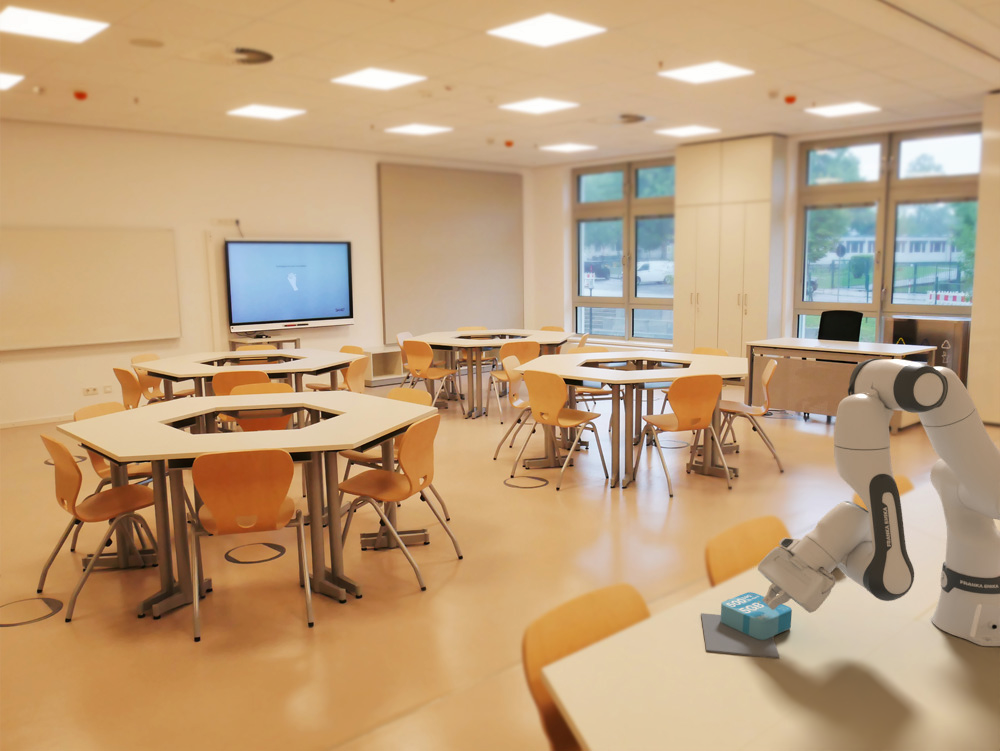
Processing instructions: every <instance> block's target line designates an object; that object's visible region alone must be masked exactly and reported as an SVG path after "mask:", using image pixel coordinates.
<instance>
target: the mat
mask: <svg viewBox="0 0 1000 751" xmlns="http://www.w3.org/2000/svg"><path fill="white" fill-rule="evenodd" d="M700 617H701V623H702V629H703V638H704V643H705V651H706V652H708V653H709V652H710V653H720V654H729V655H730V654H731V655H738V656H749V657H761V658H770V659H781V658H780V655H779V652H778V651H779V650H778V649H777V645H776V641H775V639H774V636H772V637H770V638H768V639H766V640H758V639H755V638H753V637H751V636H749V635H747V634H745V633H742V632H740V631H738V630H736V629H734V628H731V627H729V626H727V625H725V624H723V623H722V622H721V614H712V613H704V612H701V614H700Z"/></svg>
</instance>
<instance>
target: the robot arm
mask: <svg viewBox="0 0 1000 751" xmlns="http://www.w3.org/2000/svg"><path fill="white" fill-rule="evenodd" d="M848 383H849V384H848V388H847V396H845V397H844V398H843V399H841V400H840V402H839V404H838V405H837V411H836V416H835V422H834V434H833V455H834V456H833V458H834V463H835V467H836V470H837V473H838V475H839V477H840V478H841V479H842V481H844V482H845V483H846V484H847V485H848V486H849V487H850V488H852V490H853V491H854V492H855V494H856V495H857V496H859V498H860V499H861V500H862V503H863V504H864V506H865V507H866V508H864V507H862V506H861V505H859V504H858V503H855V502H853V501H848V500H847V501H846V500H845V501H842V502H839V504H836V505H835V506H834V507H833V508H831V509H830V510H829V511H828V512H827V513H826V514H824V516H823V517H821V519H820V520H819V521H818V522H817V524H816V526H815V527H814V528H813V530H812V531H810V532H808V533H806V534H805V535H804V536H803V537H802V538H801V539H800V538H790V537H782V538H781V540H779V541H778V545H779V546H776V547H774V548H773V549H771V550H770V551H769V552H768V554H766V555H765V556H764V557H763V559H762V560H760V562H759V563H758V566H757V571H758V572H759V573H760V574H761V575H762V576H763V577H764V578H765V579H767V580H768V581H769V582H770V583H771V584H770V585H769V587H768V591H767V593H766V595H765V596H763V597H764V598H763V599H762V601H763V602H764V603H765V604H766V605H767V606H768V607H770V608H771V609H772V610H774V609H775V608H776V607H777V606H778V605H781V604H783V605H784V604H785V603H788V602H789V601H790V600H791V599H792V601H794V602H795V603H796V604H798V605H799V606H800V607H801V608H803V609H804V610H805V611H806V612H808V613H809V614H811V613H814V612H816V611H817V610H818V609H819V608H820V607H821V606H822V605H823V603H824V602H825V601H826V600H827V598H828V597H829V595H830V594H831V592H832V589H833V588H834V587H835V585H836V576H835V575H834V574H833V573H832V572H833V571H834V570H835V569H836V567H837V568H838V569H839V570H840V571H841V572H842V574H843V575H845V576H846V577H847V578H849V579H851V580H852V581H853V582H855V583H856V584H857V585H859V586H861V587H862V588H865V589H866V591H867V592H869V594H871V595H873V596H874V597H875V598H876V599H878V600H880V601H883V602H890V601H896V600H898V599H900V598H902V597H904V596H905V595H906V594H908V593H909V591H910V590H911V588H912V586H913V584H914V581H915V569H914V567H913V566H914V565H913V563H912V561H911V559H910V556H909V554H908V549H907V544H906V537H905V530H904V529H905V528H904V521H903V520H904V519H903V510H902V503H901V498H900V492H899V489H898V486H897V482H896V479H895V476H894V472H893V467H892V466H893V465H892V459H891V439H890V438H891V436H890V427H889V426H890V422H891V420H892V417H893V416H894V414H895V411H900V412H907V413H911V414H912V413H913V414H917V415H918V418H919V421H920V423H921V424H922V427H923V429H924V432H925V434H926V436H927V438H928V440H929V442H930V445H931V447H932V450H933V451H934V452H935V455H937V456H938V457H939V459H937V461H935V462H934V464H933V465H932V468H931V470H930V483H931V485H932V487H933V488H934V489H935V491H936V493H937V494H938V496H939V500H940V503H941V507H942V511H943V515H944V520H945V521H944V522H945V527H946V545H945V556H944V557H945V560H944V562H943V563H942V567H941V573H940V588H941V590H940V593H939V598H938V601H937V605H936V608H935V610H934V612H933V613H932V614H933V615H932V616H931V622H932V623H933V625H934V626H936V627H937V628H938V629H940V630H941V631H944V632H946V633H948V634H949V635H953V636H956V637H959V638H961V639H965V640H967V641H970V642H971V643H974V644H975V645H978V646H982V647H1000V530H999V529H998V527H997V525H996V523H995V520H998V521H1000V449H999V447H998V446H997V445H996V443H995V442H994V441H993V439H992V437H991V436H990V434H989V433H988V430H987V429H986V427H985V424H984V422H983V420H982V418H981V416H980V414H979V412H978V410H977V408H976V405H975V403H974V400H973V398H972V396H971V394H970V393H969V391H968V389H967V388H966V386H965V385H964V383H963V382H962V381H961V379H960V377H959V376H958V375H957V374H956V372H955V371H953V370H952V369H951V368H949V367H945V366H940V365H939V366H938V365H937V366H932V365H929V364H927V363H925V362H919V361H917V362H915V361H912V360H908V359H900V358H893V359H890V358H889V359H888V358H887V359H886V358H885V359H884V358H871V359H866V360H864V361H862V362H860V363H858V364H857V365H856V366H855V367H854V369H853V370H852V372H851V374H850V378H849V382H848Z"/></svg>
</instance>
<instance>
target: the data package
mask: <svg viewBox="0 0 1000 751" xmlns="http://www.w3.org/2000/svg"><path fill="white" fill-rule="evenodd" d="M764 597H765V596H763V595H761V594H758V593H757V592H753V591H752V592H751V591H749V592H744V593H743V594H739V595H738V596H735V597H732V598H730V599H727V600H725V601H724V600H723V601H722V602H721V606H720V607H721V608H720V615H721V622H722V623H723V624H725V625H727V626H729V627H731V628H734V629H736V630H738V631H740V632H742V633H745V634H747V635H749V636H751V637H753V638H755V639H758V640H766V639H768V638H770V637H772V636H773V637H775V636H777V635H778V634H782V633H783V632H785V631H788V630H790V629H791V626H792V613H793V612H792V611H793V610H792V608H791V607H790V606H788V605H785V604H784V603H783V604H781V605H778V606H777V607H776V608H775V609H774V610H772V609H771V608H770V607H768V606H767V605H766V604H765V603H764V602H763V601H762V599H763V598H764Z"/></svg>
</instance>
